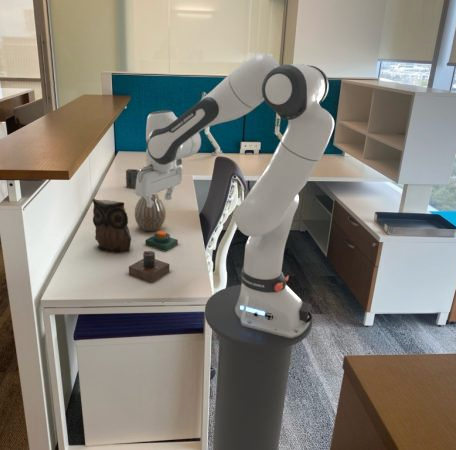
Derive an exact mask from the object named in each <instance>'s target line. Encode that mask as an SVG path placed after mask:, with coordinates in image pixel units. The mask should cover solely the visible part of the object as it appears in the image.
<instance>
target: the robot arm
mask: <svg viewBox="0 0 456 450" xmlns="http://www.w3.org/2000/svg"><path fill="white" fill-rule="evenodd" d="M329 86H330V85H329V79H328V77H327V75H326V73H325V72H324V71H323V70H322V69H320V68H319V67H317V66H314V65H308V64H307V65H306V64H303V63H291V64H282V65H281V64H279V62H278V61H277V60H276V59H275V58H274V57H273V56H272V55H270V54H267V53H258V54H256V55H254V56H253V57H251V58H249V59H247V60H246V61H244V62H242V63H241V64H239V66H238V67H236V68H235V69H234V70H233V71H232V72H230V73H229V74H228V75H227V76H225V78H224V79H223V80H222V81H220V82H219V83H218V84H217V85H216V86H215V87H213V89H212V90H211V91H209V92H208V93H207V94H205V96H204V97H202V98H201V99H200V100H199V101H198V102H197V103H195V104H194V105H193V106H192V107H190V108H189V109H188V110H186V111H185V112H184V113H182V114H181V115H180V116H179V117H177V116H176V115H175V113H174V112H173V111H172V110H166V109H165V110H157V111H152V112H150V113H149V114H148V116H147V119H146V126H145V127H146V128H145V140H146V151H145V166H142V167H141V168H140V169H139V170H140V171H139V172H138V175H137V179H136V189H135V190H134V191H135V194H136V196H137V197H140V198H141V197H144V198H145V200H146V201H147V207H150V208H151V207H153V206H154V201H152V200H151V198H152V195H153V194H155V193H156V194H158V193H160V192H163V191H165V190H166V193H164V200H166V201H169V200H171V199H172V198H173V197H172V194H173V192H174V190H175V187H176V186H178V185H180V184H181V183H182V180H183V164H184V159H185V158H188V157H192V156H194V155H196V154H198V152H199V151H200V150H201V146H202V136H201V134H200V132H201V131H203V130H205V129H206V128H209V127H212V126H215V125H218V124H222V123H226V122H227V123H228V122H231V121H234V120H237V119H239V118H241V117H243V116H245V115H247V114H249V113H250V112H252V111H253V110H254V109H256V108H257V107H258V106H260V105H261V104H262V103H263V102H265V104H266V105H267V106H268V107H269V108H270V109H272V110H273V111H274V112H275V113H276V114H277V116H279V117H280V119H282V120H284V121H288V122H287V126H286V128H285V131H284V133H283V135H282V137H281V139H280V141H279V143H278V145H277V146H276V148H275V150H274V152H273V155H272V156H271V158H270V160H269V162H268V164H267V166H265V169H264V170H263V171H262V173H261V175H259V176H258V178H257V180H256V181H255V183H254V184H253V186H251V189H250V190H249V191H248V193H247V195H246V196H245V198H244V199H243V201H242V202H241V203H240V204H239V205H238V207H237V208H236V209H235V212H234V222H235V225H236V227H237V229H238V230H239V232H241V233H242V234H243V235H245V236H247V237H248V239H247V240H246V243H245V247H244V259H243V266H242V268H241V274H240V285H242V286H241V291H240V296H239V299H238V302H237V304H236V307H235V313H236V314H237V316H238V317H239V318H240V321H241V324H242V326H245V327H249V328H252V329H256V330H260V331H264V332H268V333H272V334H276V335H279V336H283V337H287V338H294V337H297V336H299V335H301V334H302V333H303V332H304V331H305V330H306V329H307V327H308V325H309V323H310V321H311V319H312V317H313V313H312V312H311V313H312V314H311V313H310V311H311V306H312V304H311V303H308V302H304V301H303V304H302V299H301V298H300V297H299V296H298V295H297V294H296V292H294V291H293V290H292V289H291V288H290V287H289V286H288V285H287V282H288V281H289V277H290V275H287V276H285V275H284V272H283V271H282V269H283V263H284V253H285V248H286V243H287V242H288V241H287V240H288V238H289V234H290V231H291V227H292V224H293V220H294V217H295V214H296V212H297V209H298V207H299V203H300V197H299V193H300V192H301V191H302V189H303V188H304V187H305V186H306V184H307V183H308V181H309V179H310V177H311V176H312V174H313V172H314V170H315V169H316V167H317V165H318V163H319V162H320V160H321V158H322V157H323V154H324V153H325V151H326V149H327V147H328V145H329V143H330V139H331V138H332V134H333V131H334V129H335V120H334V117H333V116H332V114H331V113H330V112H329V111H328V110H327V109H325V108H323V107H322V106H321V105H320V104H321V103H322V102H323V101H324V100H325V99H326V97H327V96H328V92H329Z"/></svg>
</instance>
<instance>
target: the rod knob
mask: <svg viewBox="0 0 456 450" xmlns="http://www.w3.org/2000/svg"><path fill="white" fill-rule="evenodd" d="M142 259H143V265H144V267H147V268H151V267H154V266H155V259H156V253H155V251H152V250H144V252H142Z"/></svg>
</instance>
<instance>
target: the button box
mask: <svg viewBox="0 0 456 450" xmlns="http://www.w3.org/2000/svg"><path fill="white" fill-rule="evenodd" d="M178 241H179V240H178V239H176V238H173V237H171V235H170V233H168V232H166V237H164V238H159V237H157V232H156V233H154V234H153V235H152V236H151V237H148V238H146V239H145V246H148V247H150V248H154V249H157V250H160V251H162V252H167V251H169V250H170V249H173V248H174V247H176V246H178Z"/></svg>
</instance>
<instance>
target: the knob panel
mask: <svg viewBox="0 0 456 450" xmlns="http://www.w3.org/2000/svg"><path fill="white" fill-rule="evenodd" d="M169 272H170V263H168V262H165V261H162V260H159V259H157V258H155V266H154V267H151V268H147V267H144V265H143V258H142V259H140V260H138V261H137V262H135V263H132V264H130V265H129V266H128V275H130V276H132V277H135V278H138V279H141V280H142V281H145V282H148V283H153V282H155V281H156V280H158V279H160V278H162V277H163V276H164V275H166V274H168V273H169Z"/></svg>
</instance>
